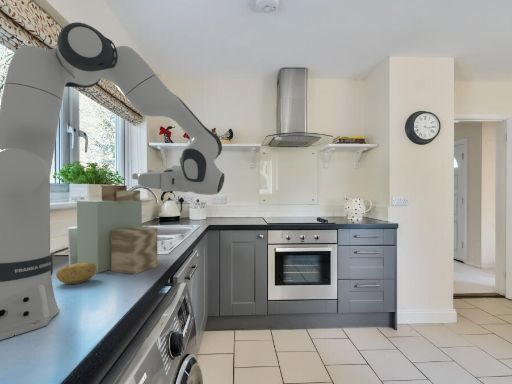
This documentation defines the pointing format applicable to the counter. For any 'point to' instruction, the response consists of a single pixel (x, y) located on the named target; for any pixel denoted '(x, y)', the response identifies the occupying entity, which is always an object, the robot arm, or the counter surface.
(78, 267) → the potato
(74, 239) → the skincare box
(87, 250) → the large sage green box
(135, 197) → the walnut handle block
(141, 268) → the low oak block
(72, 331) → the counter surface
